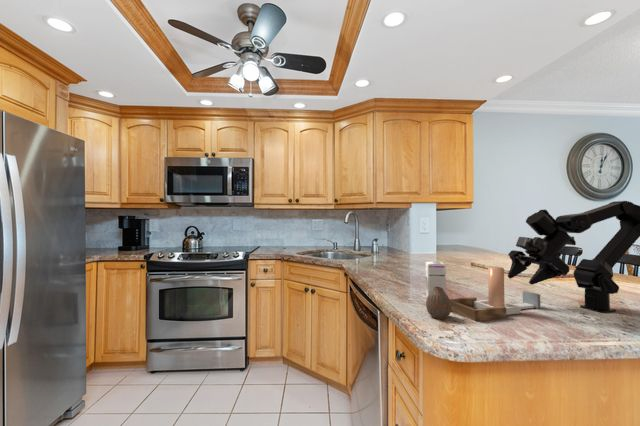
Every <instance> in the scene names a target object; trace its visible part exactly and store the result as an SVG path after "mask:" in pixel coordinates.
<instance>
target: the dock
mask: <svg viewBox="0 0 640 426" xmlns="http://www.w3.org/2000/svg"><path fill="white" fill-rule="evenodd" d="M449 299H450V302H451V312H452V313H454V314H457V315H459V316H461V317H464V318H465V319H466V318H467V319H469V320H471V321H474V322H479V321H488V320H496V319H504V318H505V319H506V318H507V315H506V307H503V306H499V307H490V308H480V309H477V308H475V307H474V301H478V299H477V297H475V296H472V297H471V296H470V297H469V296H468V297H459V298H458V297H457V298H449Z"/></svg>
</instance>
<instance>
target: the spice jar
mask: <svg viewBox="0 0 640 426" xmlns="http://www.w3.org/2000/svg"><path fill="white" fill-rule="evenodd" d="M487 289H488V293H487V295H488V296H487V297H488V299H487V300H488V305H490V306H493V307H499V306H503V307H505V268H504V267H502V266H501V267H500V266H487Z"/></svg>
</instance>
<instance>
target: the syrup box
mask: <svg viewBox="0 0 640 426" xmlns="http://www.w3.org/2000/svg"><path fill="white" fill-rule="evenodd" d="M424 264H425V297H426V298H425V301H426V300H427V297H428V295H429V294H430V293H431V291H432V290H433V288H434V287H442V288H443V290H444V292H445V293H446V294H447V278H446V277H447V275H446V272H447V271H446V264H445V263H443V262H441V261H425V263H424Z"/></svg>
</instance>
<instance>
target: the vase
mask: <svg viewBox="0 0 640 426" xmlns="http://www.w3.org/2000/svg"><path fill="white" fill-rule="evenodd" d="M450 299H451V298H450V297H449V296H448V294H447V292H446V293H445V292H444V290H443V288H442V287H434V288H433V290H432V291H431V293H430V294H429V295H428V297H427V300H426V299H425V306H426V310H427V313H428V314H429V316H431V318H433V319H437V320H446V319H447V318H448V317H449V316H450V314H451V312H452V311H451V302H450Z"/></svg>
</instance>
